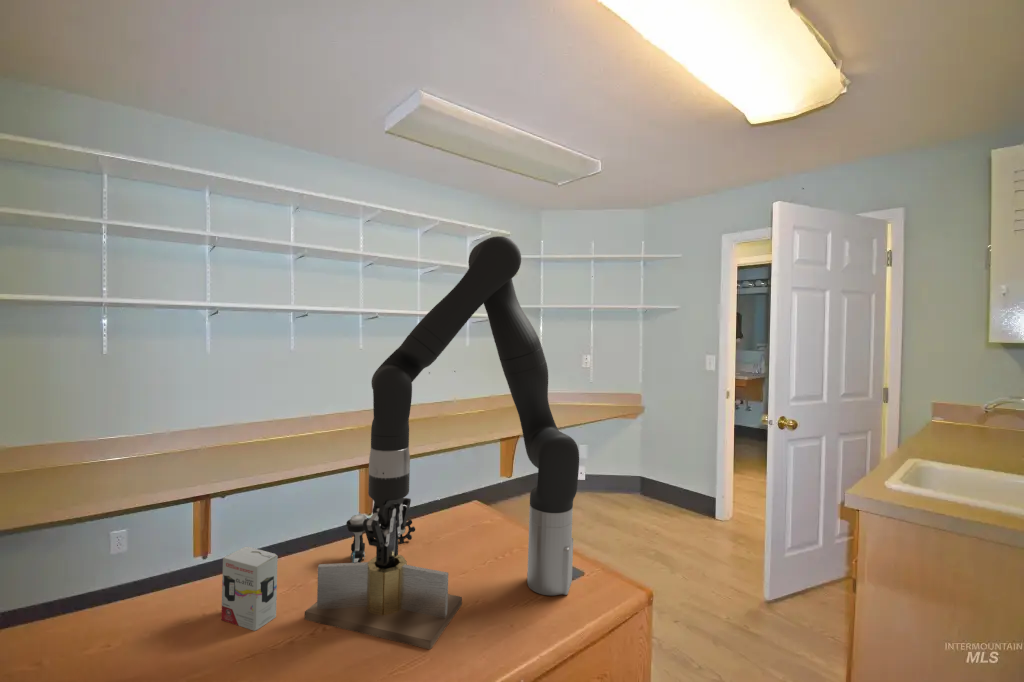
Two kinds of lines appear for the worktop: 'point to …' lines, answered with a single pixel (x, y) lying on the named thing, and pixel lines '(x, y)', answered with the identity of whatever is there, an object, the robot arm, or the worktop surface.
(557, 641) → the worktop surface
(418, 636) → the board
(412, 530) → the valve
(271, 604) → the ink box
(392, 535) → the hinge pin
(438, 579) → the hinge knuckles
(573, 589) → the worktop surface
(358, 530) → the push button
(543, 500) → the robot arm
